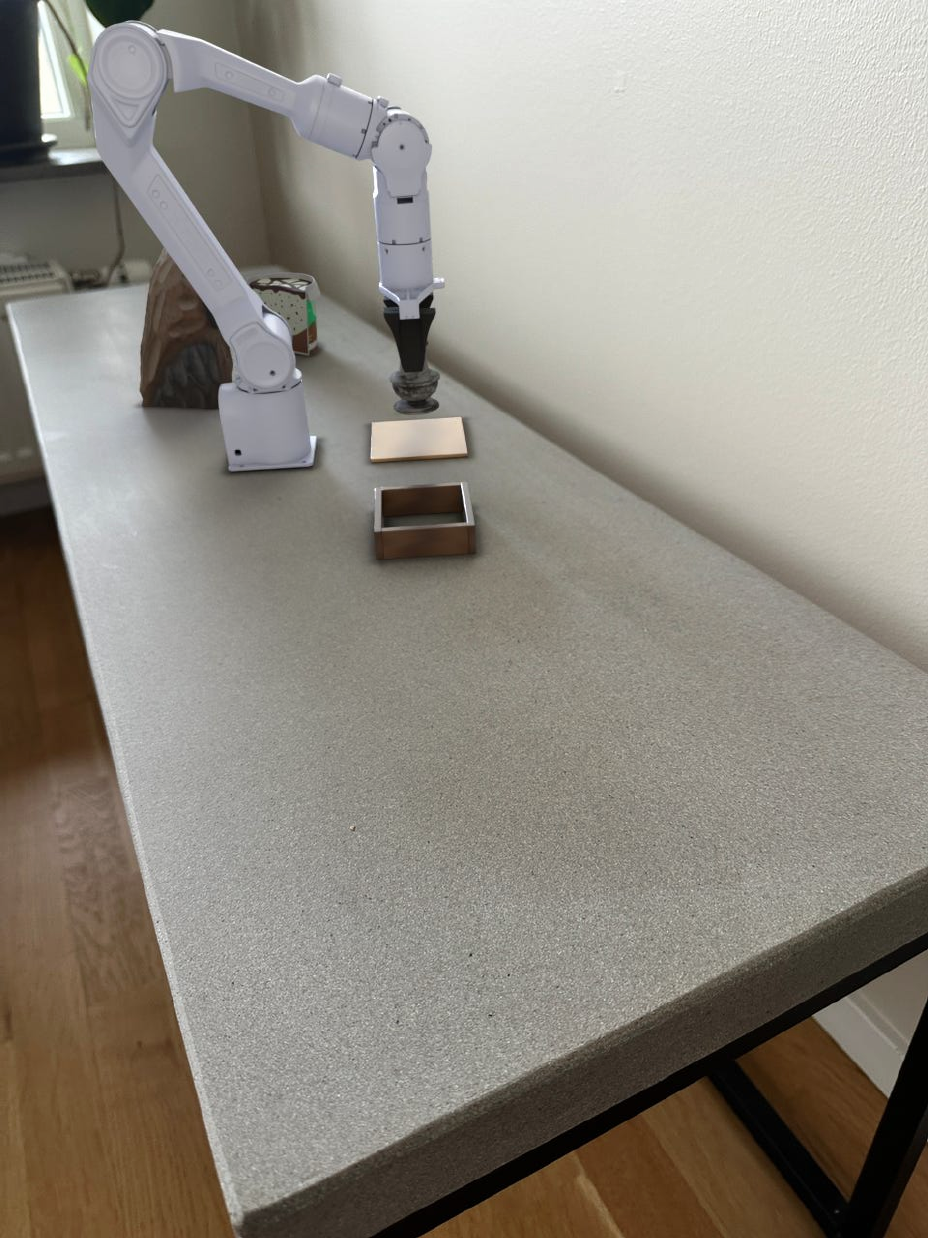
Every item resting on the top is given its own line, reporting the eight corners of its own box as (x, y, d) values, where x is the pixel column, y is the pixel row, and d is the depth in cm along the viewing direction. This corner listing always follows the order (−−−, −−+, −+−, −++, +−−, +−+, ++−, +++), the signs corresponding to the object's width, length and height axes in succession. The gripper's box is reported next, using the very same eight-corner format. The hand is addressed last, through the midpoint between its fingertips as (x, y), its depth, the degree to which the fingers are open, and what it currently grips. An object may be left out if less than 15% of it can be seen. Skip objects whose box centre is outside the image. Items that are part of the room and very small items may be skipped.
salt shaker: (435, 416, 108) (429, 309, 102) (385, 414, 109) (375, 308, 103) (446, 397, 113) (441, 294, 106) (398, 396, 114) (390, 293, 108)
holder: (376, 560, 90) (373, 531, 89) (377, 514, 98) (374, 487, 97) (476, 553, 91) (475, 525, 89) (468, 508, 99) (467, 481, 97)
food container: (343, 345, 145) (336, 276, 139) (317, 357, 140) (308, 287, 135) (281, 334, 150) (272, 268, 145) (254, 345, 146) (243, 277, 141)
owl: (197, 374, 136) (168, 224, 125) (271, 384, 131) (248, 230, 120) (137, 405, 127) (100, 246, 116) (215, 417, 122) (183, 253, 111)
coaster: (371, 462, 109) (370, 459, 109) (372, 425, 118) (371, 422, 118) (467, 456, 109) (467, 453, 109) (461, 419, 118) (461, 416, 118)
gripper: (445, 252, 95) (452, 385, 103) (439, 222, 107) (445, 342, 115) (374, 256, 95) (386, 389, 102) (375, 225, 107) (386, 346, 114)
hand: (413, 365), depth 109 cm, fingers closed on salt shaker, 3 cm apart
